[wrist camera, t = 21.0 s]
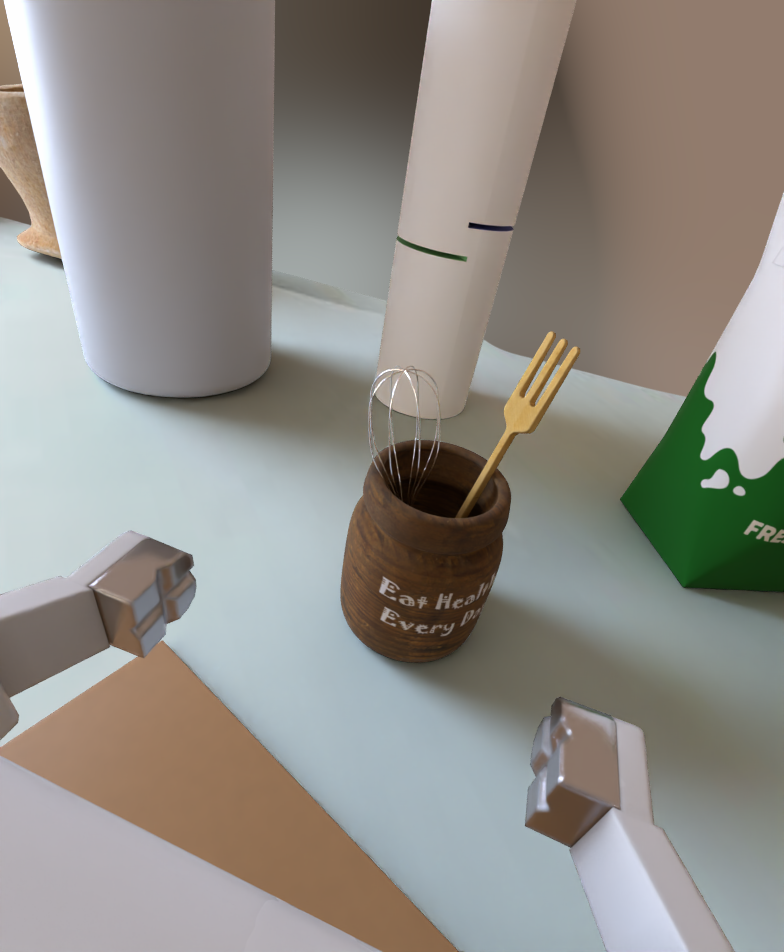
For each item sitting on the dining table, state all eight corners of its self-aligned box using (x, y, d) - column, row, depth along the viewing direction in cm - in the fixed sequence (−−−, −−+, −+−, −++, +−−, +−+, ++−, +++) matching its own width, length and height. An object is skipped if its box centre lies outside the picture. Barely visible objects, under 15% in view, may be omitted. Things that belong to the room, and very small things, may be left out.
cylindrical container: (480, 418, 36) (625, -66, 22) (390, 420, 34) (487, -122, 19) (443, 375, 42) (540, -36, 27) (363, 374, 39) (423, -78, 25)
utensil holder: (320, 569, 22) (348, 300, 15) (442, 547, 24) (515, 307, 17) (363, 688, 18) (428, 389, 11) (506, 646, 20) (635, 381, 13)
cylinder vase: (287, 345, 42) (300, -84, 27) (243, 415, 31) (227, -213, 17) (139, 321, 41) (71, -132, 26) (45, 384, 31) (-148, -295, 16)
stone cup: (-18, 254, 48) (-80, 57, 39) (86, 240, 57) (55, 78, 49) (103, 293, 45) (65, 87, 36) (193, 271, 54) (179, 103, 45)
